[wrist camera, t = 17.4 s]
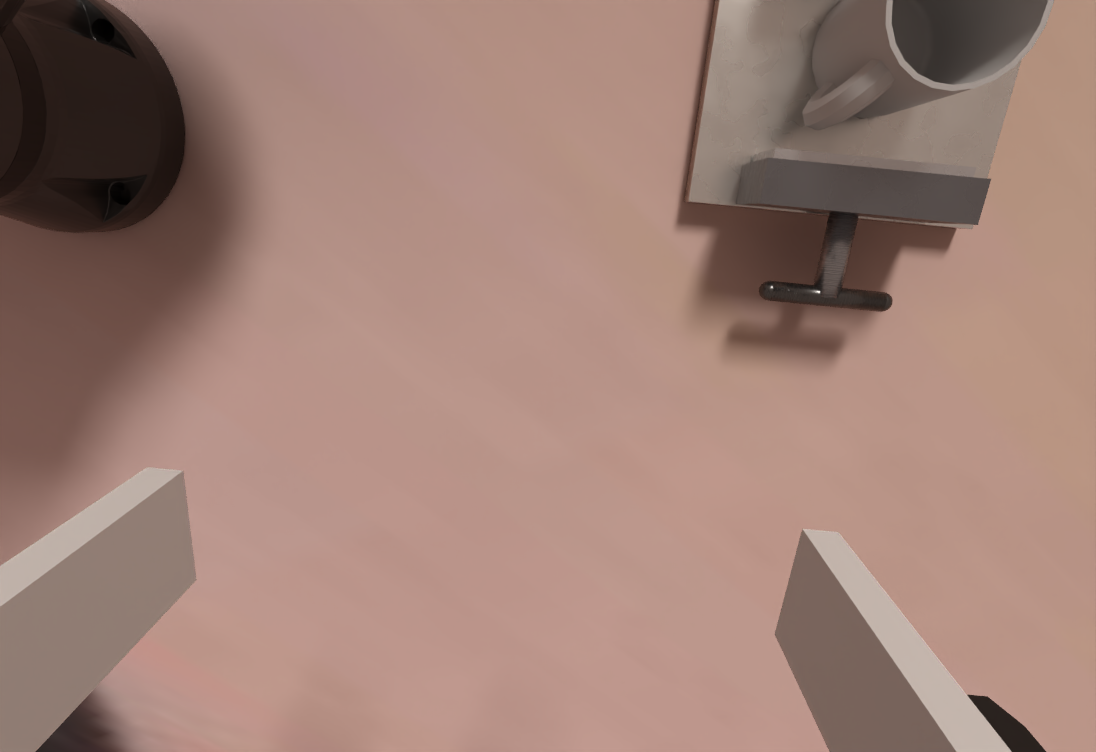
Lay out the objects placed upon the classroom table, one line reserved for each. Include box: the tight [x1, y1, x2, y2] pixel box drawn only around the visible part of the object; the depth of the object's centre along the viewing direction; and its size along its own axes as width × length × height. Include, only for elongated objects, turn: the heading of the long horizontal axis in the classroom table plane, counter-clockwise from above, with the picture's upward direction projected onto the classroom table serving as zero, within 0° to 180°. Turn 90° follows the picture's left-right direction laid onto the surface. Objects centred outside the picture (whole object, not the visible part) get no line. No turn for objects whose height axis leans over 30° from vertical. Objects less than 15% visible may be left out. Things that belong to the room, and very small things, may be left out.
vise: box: [684, 0, 1022, 311], centre depth 34 cm, size 18×22×6 cm
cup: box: [802, 0, 1054, 130], centre depth 30 cm, size 7×10×9 cm
